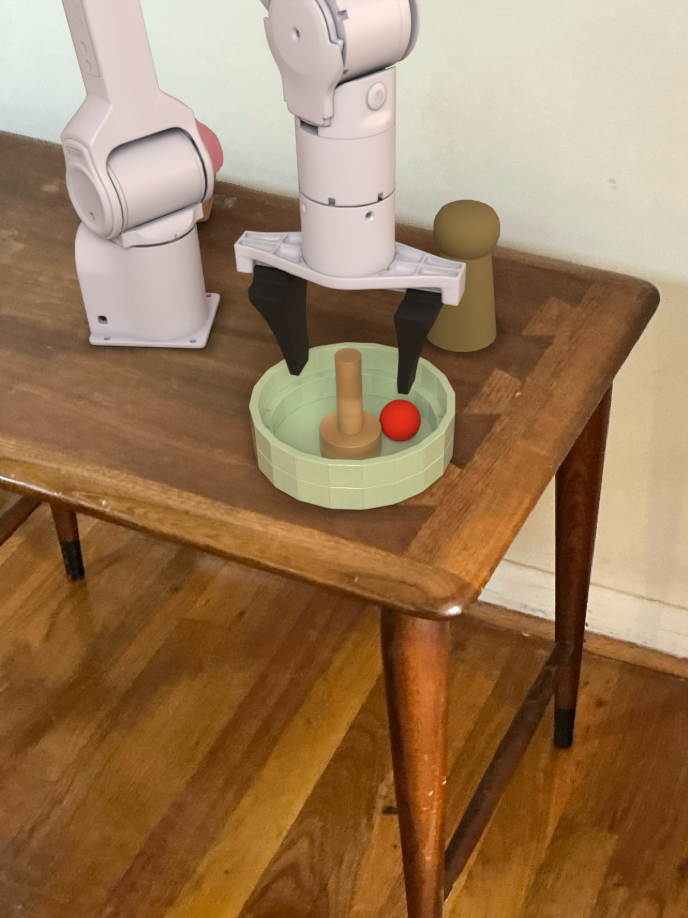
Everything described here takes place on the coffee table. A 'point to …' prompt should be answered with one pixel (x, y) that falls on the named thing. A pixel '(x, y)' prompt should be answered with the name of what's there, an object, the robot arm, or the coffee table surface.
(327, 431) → the wooden peg on base
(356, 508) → the bowl
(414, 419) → the red ball
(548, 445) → the coffee table surface
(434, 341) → the cork
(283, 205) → the coffee table surface
